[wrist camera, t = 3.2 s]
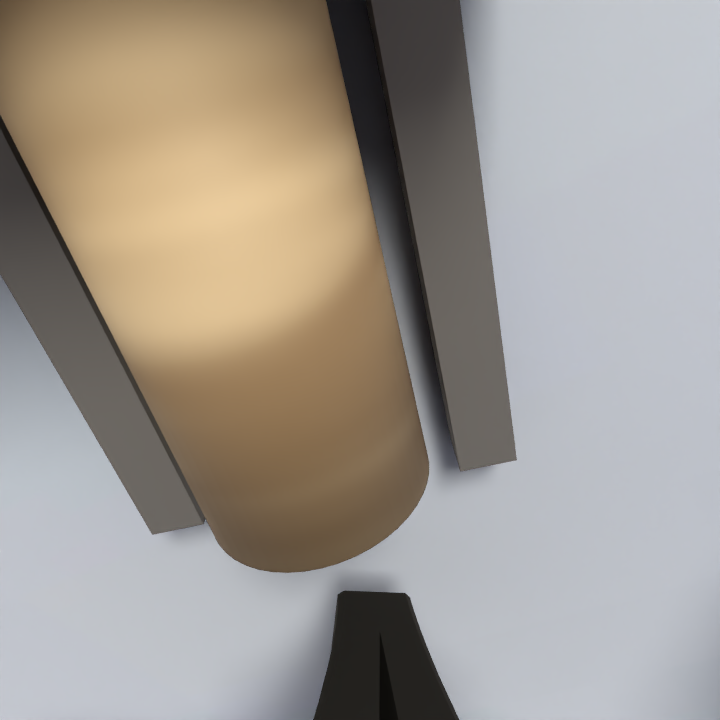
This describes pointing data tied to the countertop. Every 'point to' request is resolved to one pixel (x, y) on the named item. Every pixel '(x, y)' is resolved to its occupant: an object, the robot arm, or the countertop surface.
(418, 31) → the guide rails
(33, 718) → the countertop surface
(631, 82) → the countertop surface
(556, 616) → the countertop surface
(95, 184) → the oak dowel
